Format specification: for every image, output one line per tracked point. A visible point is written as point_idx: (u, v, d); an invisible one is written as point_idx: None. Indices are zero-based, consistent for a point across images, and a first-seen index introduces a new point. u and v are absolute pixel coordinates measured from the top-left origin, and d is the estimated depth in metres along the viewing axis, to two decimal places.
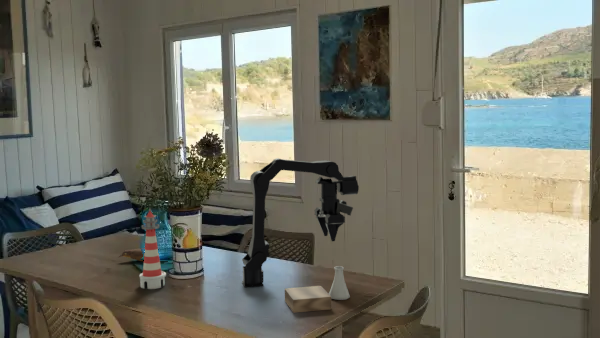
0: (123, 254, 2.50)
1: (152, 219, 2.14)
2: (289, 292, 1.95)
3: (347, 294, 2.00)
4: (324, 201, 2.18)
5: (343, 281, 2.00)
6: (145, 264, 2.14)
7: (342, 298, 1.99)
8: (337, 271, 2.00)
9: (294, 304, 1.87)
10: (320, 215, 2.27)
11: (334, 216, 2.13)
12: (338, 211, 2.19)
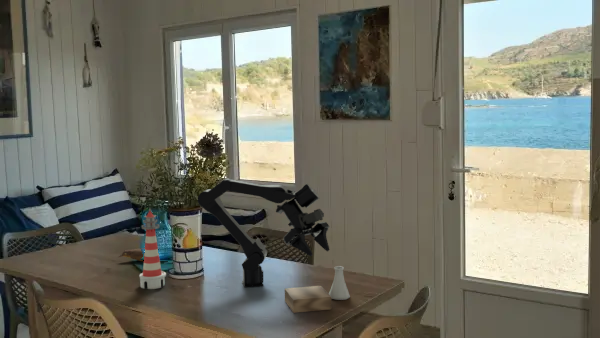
0: (123, 254, 2.50)
1: (152, 219, 2.14)
2: (289, 292, 1.95)
3: (347, 294, 2.00)
4: (289, 224, 2.11)
5: (343, 281, 2.00)
6: (145, 264, 2.14)
7: (342, 298, 1.99)
8: (337, 271, 2.00)
9: (294, 304, 1.87)
10: (314, 235, 2.15)
11: (285, 235, 2.04)
12: (302, 225, 2.07)
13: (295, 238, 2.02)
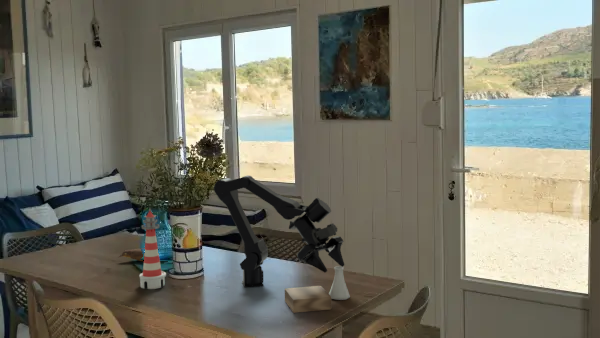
0: (123, 254, 2.50)
1: (152, 219, 2.14)
2: (289, 292, 1.95)
3: (347, 294, 2.00)
4: (302, 240, 2.07)
5: (343, 281, 2.00)
6: (145, 264, 2.14)
7: (342, 298, 1.99)
8: (337, 271, 2.00)
9: (294, 304, 1.87)
10: (329, 250, 2.10)
11: (299, 252, 2.00)
12: (316, 241, 2.03)
13: (309, 255, 1.99)
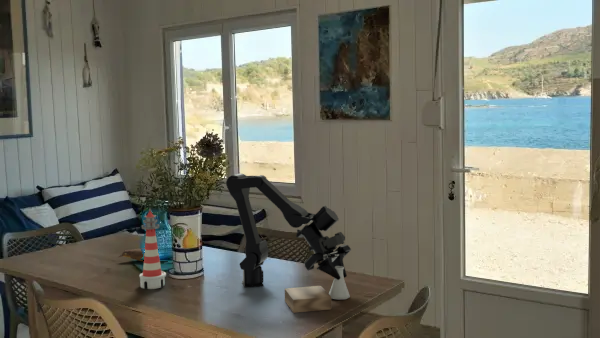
0: (123, 254, 2.50)
1: (152, 219, 2.14)
2: (289, 292, 1.95)
3: (347, 294, 2.00)
4: (310, 249, 2.06)
5: (343, 281, 2.00)
6: (145, 264, 2.14)
7: (342, 298, 1.99)
8: (337, 271, 2.00)
9: (294, 304, 1.87)
10: None
11: (306, 261, 1.98)
12: (323, 249, 2.01)
13: (322, 262, 1.99)
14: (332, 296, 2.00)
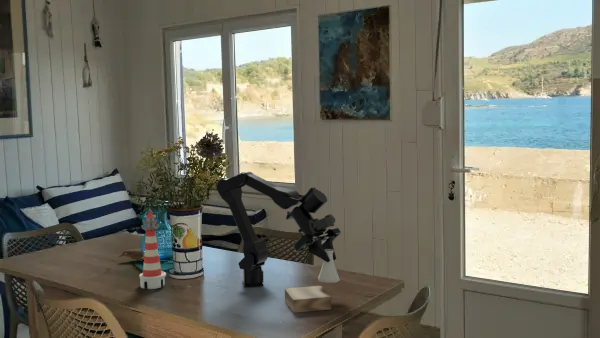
0: (123, 254, 2.50)
1: (152, 219, 2.14)
2: (289, 292, 1.95)
3: (337, 277, 1.98)
4: (299, 231, 2.02)
5: (333, 264, 1.98)
6: (145, 264, 2.14)
7: (331, 281, 1.96)
8: None
9: (294, 304, 1.87)
10: None
11: (296, 242, 1.95)
12: (313, 231, 1.98)
13: (312, 244, 1.96)
14: (321, 279, 1.97)
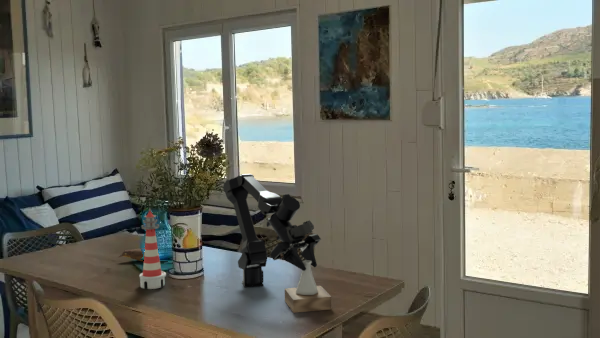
0: (123, 254, 2.50)
1: (152, 219, 2.14)
2: (289, 292, 1.95)
3: (314, 290, 1.92)
4: (277, 238, 1.97)
5: (310, 276, 1.92)
6: (145, 264, 2.14)
7: (308, 293, 1.91)
8: None
9: (294, 304, 1.87)
10: (301, 250, 1.99)
11: (272, 250, 1.90)
12: (291, 238, 1.93)
13: (287, 252, 1.90)
14: (298, 291, 1.92)
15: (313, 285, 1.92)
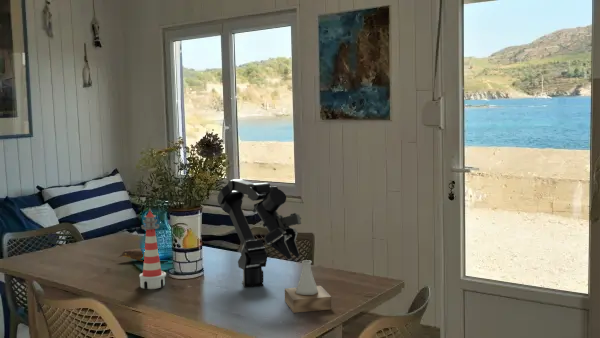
0: (123, 254, 2.50)
1: (152, 219, 2.14)
2: (289, 292, 1.95)
3: (314, 290, 1.92)
4: (264, 225, 2.02)
5: (310, 276, 1.92)
6: (145, 264, 2.14)
7: (308, 293, 1.91)
8: (304, 265, 1.92)
9: (294, 304, 1.87)
10: None
11: (268, 234, 1.95)
12: (282, 226, 2.00)
13: (278, 238, 1.95)
14: (298, 291, 1.92)
15: (313, 285, 1.92)
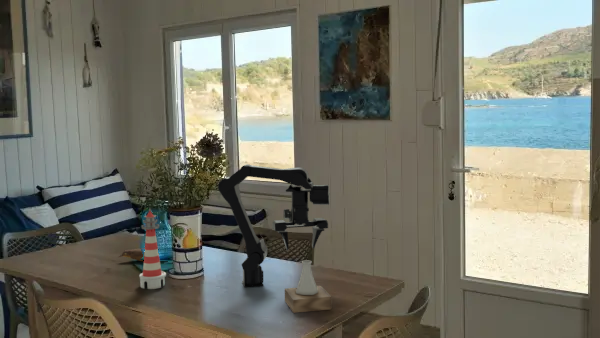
0: (123, 254, 2.50)
1: (152, 219, 2.14)
2: (289, 292, 1.95)
3: (314, 290, 1.92)
4: None
5: (310, 276, 1.92)
6: (145, 264, 2.14)
7: (308, 293, 1.91)
8: (304, 265, 1.92)
9: (294, 304, 1.87)
10: (285, 229, 2.10)
11: (326, 220, 2.14)
12: None
13: None
14: (298, 291, 1.92)
15: (313, 285, 1.92)
